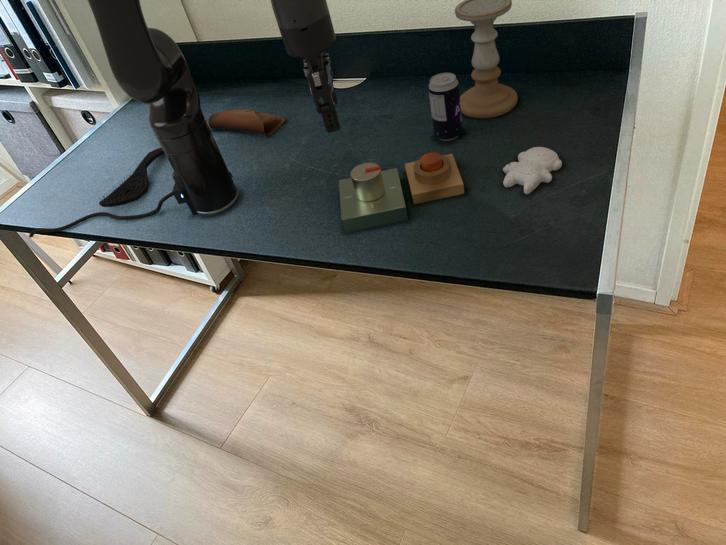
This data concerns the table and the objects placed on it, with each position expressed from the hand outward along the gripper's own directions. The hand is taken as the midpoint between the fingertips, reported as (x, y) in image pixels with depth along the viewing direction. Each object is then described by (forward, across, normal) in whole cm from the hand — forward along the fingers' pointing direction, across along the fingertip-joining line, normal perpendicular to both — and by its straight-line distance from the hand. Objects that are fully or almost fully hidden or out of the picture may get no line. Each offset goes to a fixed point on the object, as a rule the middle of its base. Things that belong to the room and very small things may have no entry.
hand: (332, 117), depth 86 cm
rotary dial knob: (+14, +3, +3) cm, 15 cm away
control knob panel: (+17, +3, +3) cm, 18 cm away
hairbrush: (+16, -25, -48) cm, 56 cm away
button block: (+17, 0, +14) cm, 23 cm away
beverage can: (+18, -15, +20) cm, 31 cm away
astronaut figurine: (+18, +3, +31) cm, 36 cm away
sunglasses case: (+16, -40, -24) cm, 49 cm away
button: (+14, 0, +14) cm, 20 cm away
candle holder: (+18, -24, +30) cm, 42 cm away
